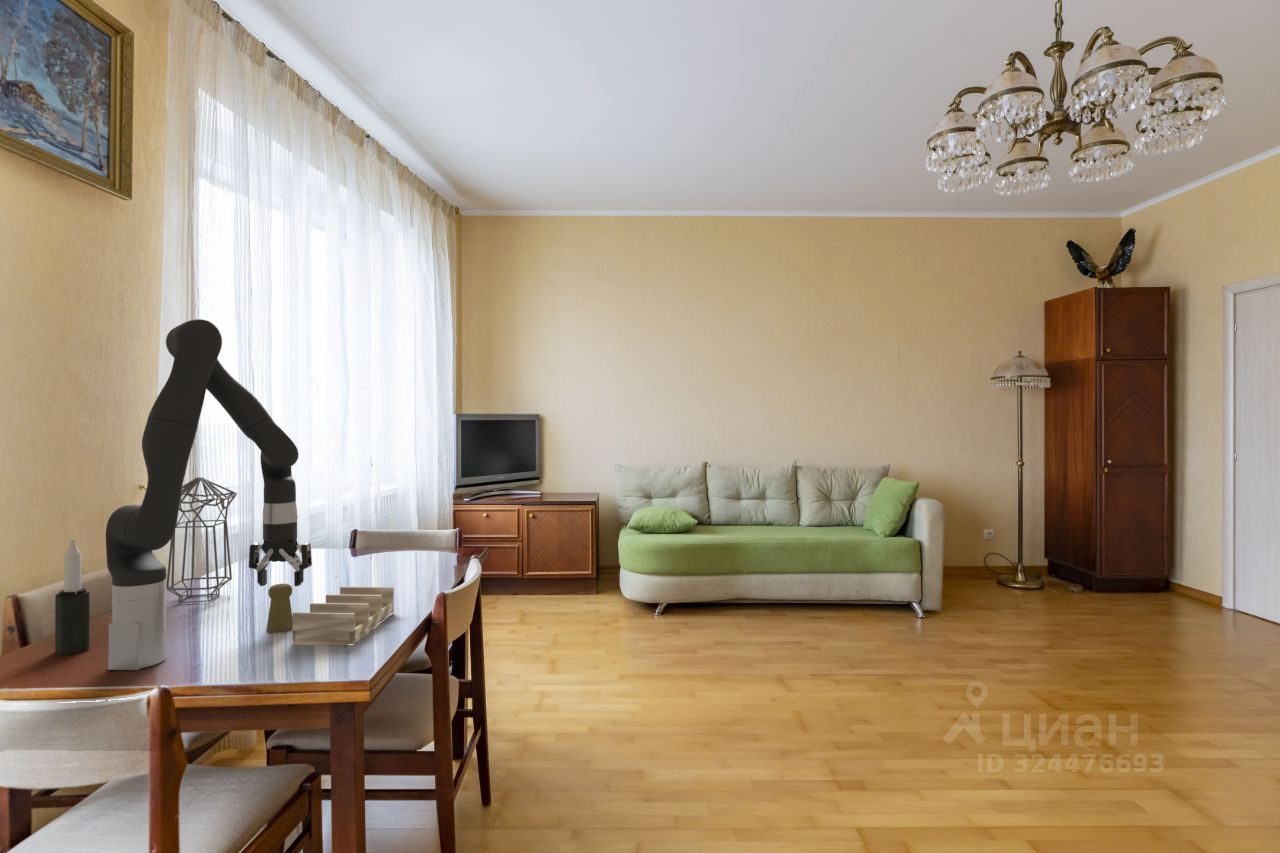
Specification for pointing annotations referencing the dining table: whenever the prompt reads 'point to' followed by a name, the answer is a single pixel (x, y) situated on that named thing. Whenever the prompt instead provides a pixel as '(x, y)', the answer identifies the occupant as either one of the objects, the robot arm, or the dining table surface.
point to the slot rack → (343, 616)
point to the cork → (280, 609)
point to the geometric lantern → (232, 494)
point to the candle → (72, 607)
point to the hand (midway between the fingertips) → (280, 585)
